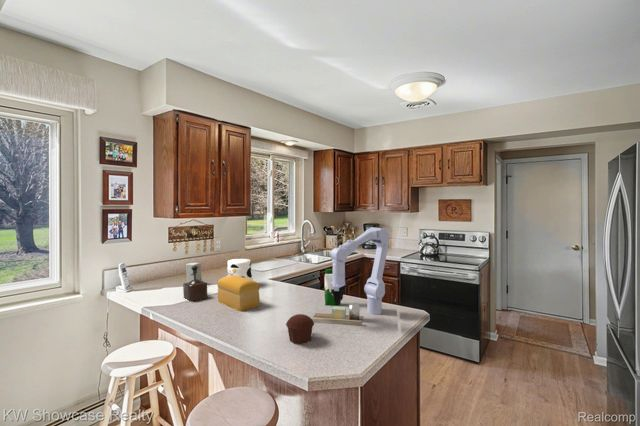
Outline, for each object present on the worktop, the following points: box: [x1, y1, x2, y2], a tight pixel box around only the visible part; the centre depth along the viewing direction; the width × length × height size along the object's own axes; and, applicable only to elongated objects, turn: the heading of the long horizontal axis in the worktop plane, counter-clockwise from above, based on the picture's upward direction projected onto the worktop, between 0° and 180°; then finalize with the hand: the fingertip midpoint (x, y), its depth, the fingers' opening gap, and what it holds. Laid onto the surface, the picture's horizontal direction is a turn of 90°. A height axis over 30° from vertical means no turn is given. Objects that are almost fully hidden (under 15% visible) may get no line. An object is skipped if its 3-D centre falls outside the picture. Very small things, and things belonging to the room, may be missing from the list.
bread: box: [217, 275, 261, 312], centre depth 180 cm, size 24×13×15 cm, turn 46°
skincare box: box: [185, 262, 203, 283], centre depth 219 cm, size 8×7×16 cm
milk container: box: [226, 258, 254, 281], centre depth 217 cm, size 17×17×18 cm
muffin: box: [285, 313, 315, 345], centre depth 132 cm, size 12×11×10 cm
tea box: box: [331, 305, 347, 319], centre depth 150 cm, size 5×6×6 cm
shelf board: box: [309, 312, 364, 327], centre depth 152 cm, size 12×24×3 cm, turn 78°
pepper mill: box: [182, 266, 208, 302], centre depth 193 cm, size 16×11×18 cm
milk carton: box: [324, 268, 340, 307], centre depth 176 cm, size 9×9×20 cm
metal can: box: [348, 302, 361, 320], centre depth 152 cm, size 5×5×7 cm
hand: (338, 302), depth 150 cm, fingers open, 7 cm apart
